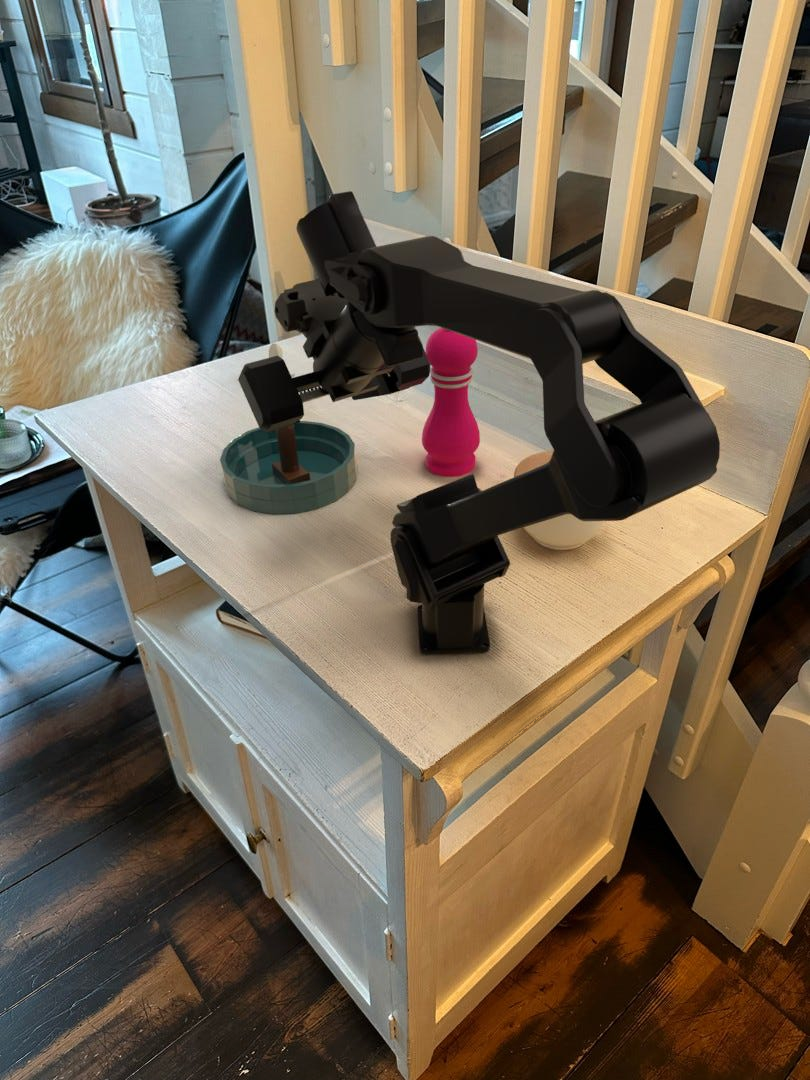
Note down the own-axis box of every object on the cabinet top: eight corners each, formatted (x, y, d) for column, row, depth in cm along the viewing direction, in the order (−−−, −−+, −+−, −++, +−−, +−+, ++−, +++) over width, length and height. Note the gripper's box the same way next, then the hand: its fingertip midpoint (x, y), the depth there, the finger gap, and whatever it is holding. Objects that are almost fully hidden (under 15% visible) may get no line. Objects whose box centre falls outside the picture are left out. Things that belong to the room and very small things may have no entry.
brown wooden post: (310, 482, 93) (297, 372, 85) (290, 489, 92) (275, 379, 84) (292, 466, 97) (278, 359, 88) (272, 473, 95) (256, 365, 87)
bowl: (355, 517, 88) (352, 484, 86) (216, 522, 88) (209, 489, 86) (358, 449, 101) (356, 418, 99) (237, 453, 101) (232, 423, 99)
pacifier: (267, 397, 115) (301, 385, 118) (260, 359, 112) (295, 347, 114) (245, 382, 120) (277, 371, 123) (237, 345, 116) (271, 334, 119)
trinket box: (581, 576, 78) (591, 500, 73) (492, 541, 84) (495, 467, 78) (624, 526, 85) (636, 454, 80) (539, 497, 90) (545, 427, 85)
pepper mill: (475, 486, 93) (480, 327, 81) (417, 481, 94) (414, 324, 83) (482, 457, 99) (487, 305, 87) (427, 452, 100) (425, 302, 88)
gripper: (412, 240, 72) (359, 320, 86) (229, 279, 63) (203, 360, 77) (461, 345, 71) (399, 409, 85) (282, 398, 63) (246, 459, 77)
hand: (315, 407), depth 81 cm, fingers open, 9 cm apart
